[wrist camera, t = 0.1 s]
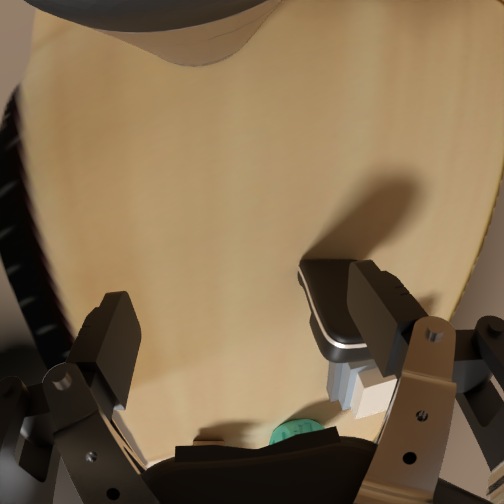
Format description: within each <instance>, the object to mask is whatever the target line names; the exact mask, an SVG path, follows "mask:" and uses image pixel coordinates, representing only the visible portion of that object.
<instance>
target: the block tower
mask: <svg viewBox="0 0 504 504" xmlns="http://www.w3.org/2000/svg"><path fill="white" fill-rule="evenodd" d="M396 382H397V378H396V376H395V375H392V376H388V377H384V378H383V376H382V374H381V373H380V371H379V369H378V367H377V365H376V363H375V361H374V359H373V360H367V361H360V362H350V363H333V362H330V361H329V371H328V381H327V392H328V395H329V398H330V401H331V402H333V401H337V400H339V402H340V405H341V407H342V410H346V409H350V408H351V409H352V412H353V415H354V418H355V419H359V418H362V417H366V416H369V415H372V414H376V413H379V412H382V411H385V410H387V409H388V406H389V403H390V400H391V397H392V394H393V391H394V388H395V384H396Z"/></svg>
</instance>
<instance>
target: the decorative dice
mask: <svg viewBox="0 0 504 504" xmlns="http://www.w3.org/2000/svg"><path fill="white" fill-rule="evenodd" d="M321 429H325V428H324V427H323V426H322V425H320V424H319V423H317V422H315V421H313V420H310V419H298V420H293V421H289V422H286V423H284V424H282V425H280V426H279V427H277V428H276V429H275V431H274V432H273V434H272V436H271V438H270V442H269V445H271V444H274V443H276V442H279V441H282V440H284V439H287V438H289V437H292V436H294V435H297V434H301V433H306V432H312V431H317V430H321Z"/></svg>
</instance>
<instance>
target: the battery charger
mask: <svg viewBox="0 0 504 504" xmlns="http://www.w3.org/2000/svg"><path fill="white" fill-rule="evenodd" d="M351 262H357V260H302V261H300V264H299V265H298V281H299V284H300V285H301V286H302V287H303V289H304V291H305V293H306V297H307V300H308V303H309V306H310V310H311V317H310V326H311V329H312V332H313V335H314V338H315V340H316V342H317V345H318V347H319V349H320V352H321V353H322V355H323V356H324V357H325V358H326V359H327V360H328V361H330V362H333V363H350V362H360V361H367V360H373V357H372V355H371V353H370V351H369V349H368V347H367V345H366V343H365V342H364V340H363V338H362V336H361V334H360V332H359V330H358V328H357V327H356V325H355V323H354V321H353V319H352V317H351V315H350V313H349V310H348V306H347V290H348V278H349V266H350V264H351Z"/></svg>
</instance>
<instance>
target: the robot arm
mask: <svg viewBox="0 0 504 504" xmlns="http://www.w3.org/2000/svg"><path fill="white" fill-rule="evenodd" d="M24 1H26V2H27V3H29V4H30V5H32V6H34V7H36V8H38V9H40V10H42V11H44V12H47V13H50V14H52V15H55V16H57V17H60V18H63V19H66V20H69V21H72V22H75V23H77V24H80V25H83V26H86V27H89V28H91V29H94V30H97V31H99V32H102V33H105V34H107V35H110V36H113V37H115V38H118V39H120V40H123V41H125V42H127V43H130V44H132V45H134V46H137V47H139V48H141V49H143V50H146V51H148V52H150V53H152V54H154V55H156V56H159V57H161V58H163V59H165V60H167V61H169V62H172V63H175V64H179V65H184V66H205V65H209V64H213V63H217V62H220V61H222V60H224V59H226V58H228V57H230V56H231V55H233V54H234V53H236V52H237V51H239V50H240V49H241V48H242V47H243V46H244V44H245V43H246V42H247V41H248V40H249V39H250V38H251V36H252V35H253V34H254V33H255V32H256V30H257V29H258V28H259V27H260V25H261V24H262V23H263V22H264V20H265V19H266V18H267V17H268V16H269V14H270V13H271V12H272V11H273V10H274V8H275V7H276V6H277V5H278V4H279V3H280V2H281V0H24ZM347 306H348V310H349V313H350V315H351V317H352V319H353V321H354V323H355V325H356V327H357V328H358V330H359V332H360V334H361V336H362V338H363V340H364V342H365V343H366V345H367V347H368V349H369V351H370V353H371V355H372V357H373V359H374V361H375V363H376V365H377V367H378V369H379V371H380V373H381V374H382V376H383V378H384V377H388V376H392V375H395V376H396V378H397V382H396V384H395V388H394V391H393V394H392V397H391V400H390V403H389V406H388V409H387V411H386V414H385V417H384V420H383V422H382V425H381V428H380V430H379V433H378V435H377V437H376V440H375V442H372V441H368V440H365V439H361V438H356V437H347V436H339V434H338V431H337V428H336V426H335V427H330V428H326V429H321V430H317V431H312V432H306V433H301V434H297V435H294V436H292V437H289V438H287V439H284V440H282V441H279V442H276V443H274V444H271V445H268V446H266V447H263V448H260V449H246V448H237V447H229V446H221V445H196V446H175V457H172V458H169V459H166V460H163V461H161V462H159V463H157V464H154V465H153V466H151V467H150V468H148V469H147V468H146V467H145V465H143V463H142V462H141V460H140V459H139V458H138V456H137V455H136V454H135V452H134V451H133V449H132V448H131V446H130V445H129V443H128V442H127V440H126V439H125V438H124V436H123V434H122V433H121V431H120V430H119V428H118V426H117V425H116V423H115V421H114V420H113V419H112V413H113V410H125V409H126V404H127V399H128V394H129V389H130V385H131V380H132V376H133V372H134V367H135V363H136V359H137V355H138V351H139V346H140V342H141V328H140V324H139V321H138V319H137V316H136V313H135V311H134V308H133V305H132V302H131V299H130V297H129V294H128V293H127V292H126V291H120V292H110V293H106V294H105V296H104V298H103V300H102V302H101V304H100V306H99V307H95V308H94V309H93V310H92V311H91V312H90V313H89V314H88V315H87V317H86V319H85V321H84V323H83V325H82V328H81V329H80V331H79V333H78V336H77V338H76V340H75V342H74V344H73V346H72V348H71V351H70V353H69V355H68V358H67V360H66V362H65V363H62V364H59V365H56V366H55V367H53V368H52V369H50V370H49V371H48V372H47V374H46V375H45V377H44V379H43V382H42V383H39V384H35V385H31V386H27V387H26V386H25V385H24V384H23V382H22V381H21V380H20V378H18V377H16V376H9V377H6V378H4V379H2V380H1V381H0V504H53V496H54V490H55V483H56V477H57V471H58V466H59V461H60V456H61V458H62V460H63V463H64V465H65V467H66V469H67V471H68V473H69V476H70V478H71V480H72V482H73V484H74V486H75V488H76V490H77V492H78V494H79V496H80V498H81V500H82V502H83V504H504V401H503V400H502V398H501V397H500V395H499V393H498V392H497V390H496V389H495V387H494V385H493V383H492V382H491V380H490V379H491V377H492V375H494V377H495V378H496V380H497V381H498V383H499V384H500V386H501V388H502V389H503V391H504V320H502V319H501V318H498V317H495V316H484V317H481V318H480V319H479V320H478V322H477V324H476V327H475V329H474V330H455V329H454V327H453V326H452V325H451V324H450V323H449V322H448V321H446V320H444V319H442V318H439V317H434V316H428V314H427V313H426V312H425V311H424V309H423V308H422V307H421V306H420V304H419V303H418V302H417V301H416V299H415V298H414V297H413V296H412V295H411V294H410V293H409V291H408V290H407V289H406V287H404V285H403V284H402V283H401V282H400V280H399V279H398V278H397V277H396V276H394V275H392V274H391V273H389V272H387V271H381V270H380V269H379V268H378V267H377V265H376V264H375V263H374V262H373V261H372V260H363V261H357V262H351V264H350V266H349V278H348V290H347ZM455 398H456V400H457V402H458V403H459V405H460V407H461V409H462V411H463V413H464V415H465V417H466V419H467V421H468V423H469V425H470V427H471V429H472V431H473V433H474V435H475V437H476V439H477V442H478V444H479V446H480V448H481V450H482V453H483V455H484V457H485V459H486V461H487V464H488V466H489V468H490V471H491V474H490V476H489V480H488V488H487V491H486V496H487V498H488V499H490V501H488V500H486V499H484V498H481V497H479V496H477V495H474V494H472V493H470V492H468V491H466V490H464V489H462V488H459V487H457V486H455V485H453V484H451V483H449V482H447V481H445V480H443V479H441V478H439V473H440V470H441V466H442V462H443V458H444V454H445V450H446V445H447V441H448V436H449V431H450V426H451V420H452V414H453V409H454V402H455ZM20 433H21V434H22V435H23V436H24V437H25V442H24V446H23V449H22V453H21V457H20V461H19V465H18V464H17V462H16V460H15V455H14V452H15V448H16V444H17V441H18V437H19V434H20Z"/></svg>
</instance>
